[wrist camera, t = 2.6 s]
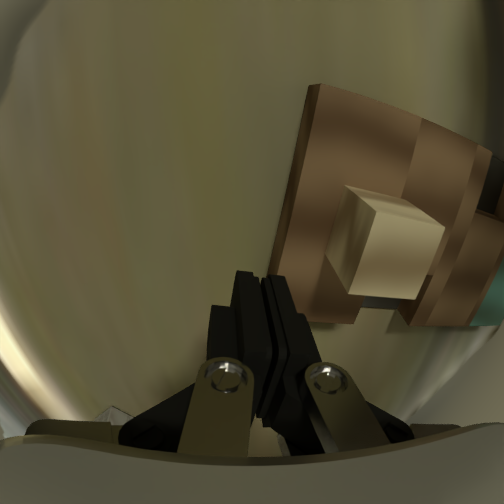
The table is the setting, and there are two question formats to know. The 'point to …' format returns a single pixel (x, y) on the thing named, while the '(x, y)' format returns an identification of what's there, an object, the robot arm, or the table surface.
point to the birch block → (381, 244)
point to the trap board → (400, 186)
